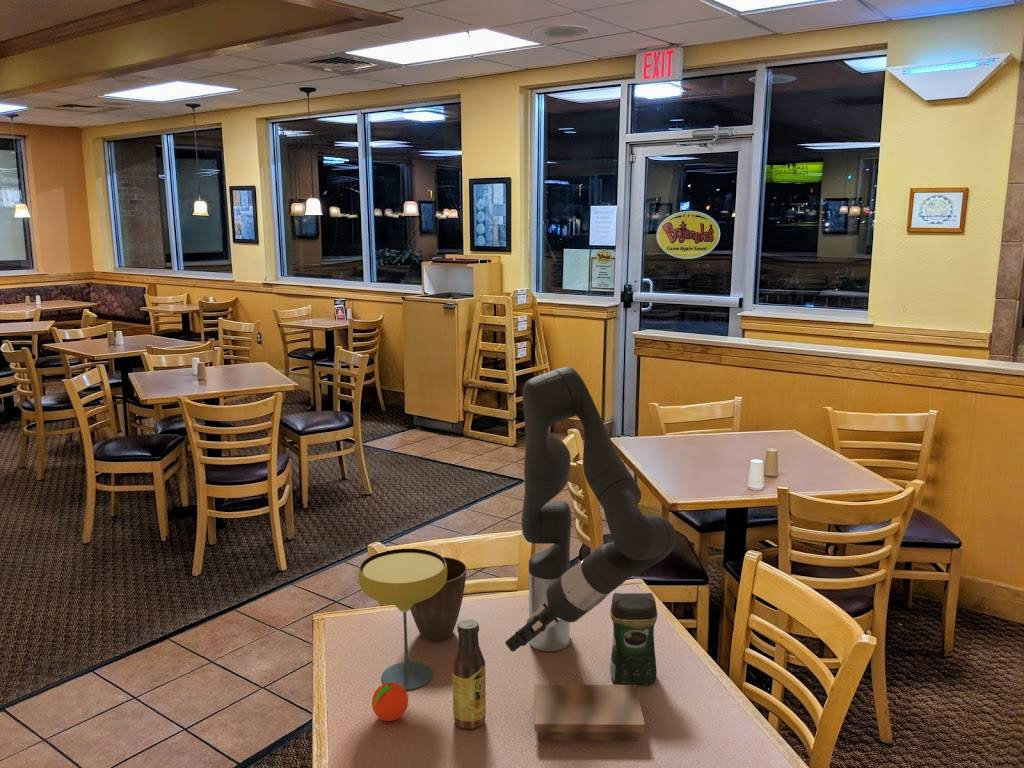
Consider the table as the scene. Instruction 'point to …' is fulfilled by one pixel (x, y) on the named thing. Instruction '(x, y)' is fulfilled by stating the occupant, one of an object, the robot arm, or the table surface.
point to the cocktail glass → (404, 598)
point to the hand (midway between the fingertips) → (520, 636)
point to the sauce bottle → (469, 678)
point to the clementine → (390, 701)
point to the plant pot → (442, 605)
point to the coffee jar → (633, 639)
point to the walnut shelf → (587, 712)
